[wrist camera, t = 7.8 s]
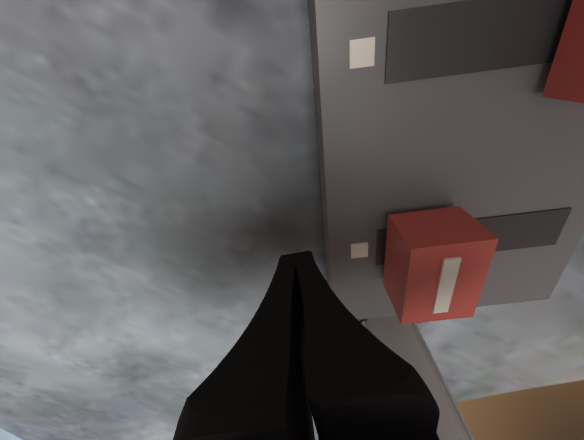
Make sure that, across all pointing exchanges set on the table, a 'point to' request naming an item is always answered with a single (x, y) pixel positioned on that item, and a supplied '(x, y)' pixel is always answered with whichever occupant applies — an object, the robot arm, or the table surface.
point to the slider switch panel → (445, 137)
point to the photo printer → (422, 371)
